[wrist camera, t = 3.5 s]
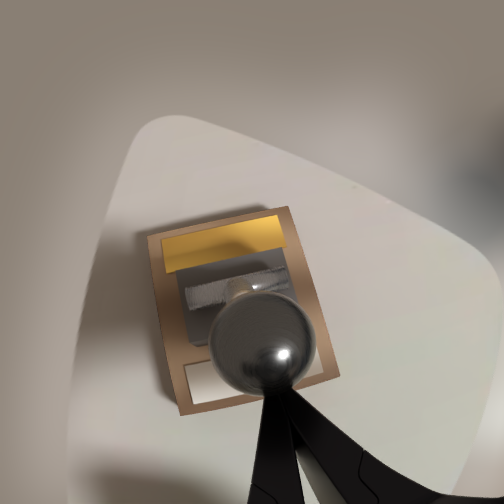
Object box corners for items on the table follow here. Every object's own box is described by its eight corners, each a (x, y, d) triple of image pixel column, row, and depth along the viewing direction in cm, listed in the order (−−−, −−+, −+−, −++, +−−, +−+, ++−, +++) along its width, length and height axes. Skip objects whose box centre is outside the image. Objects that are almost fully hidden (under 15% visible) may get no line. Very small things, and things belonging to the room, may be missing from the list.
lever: (287, 302, 17) (371, 385, 8) (195, 323, 16) (188, 435, 7) (277, 247, 16) (362, 281, 7) (181, 268, 16) (150, 332, 7)
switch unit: (331, 376, 20) (357, 376, 15) (186, 412, 19) (169, 423, 14) (284, 218, 24) (294, 182, 19) (154, 247, 23) (134, 215, 18)
